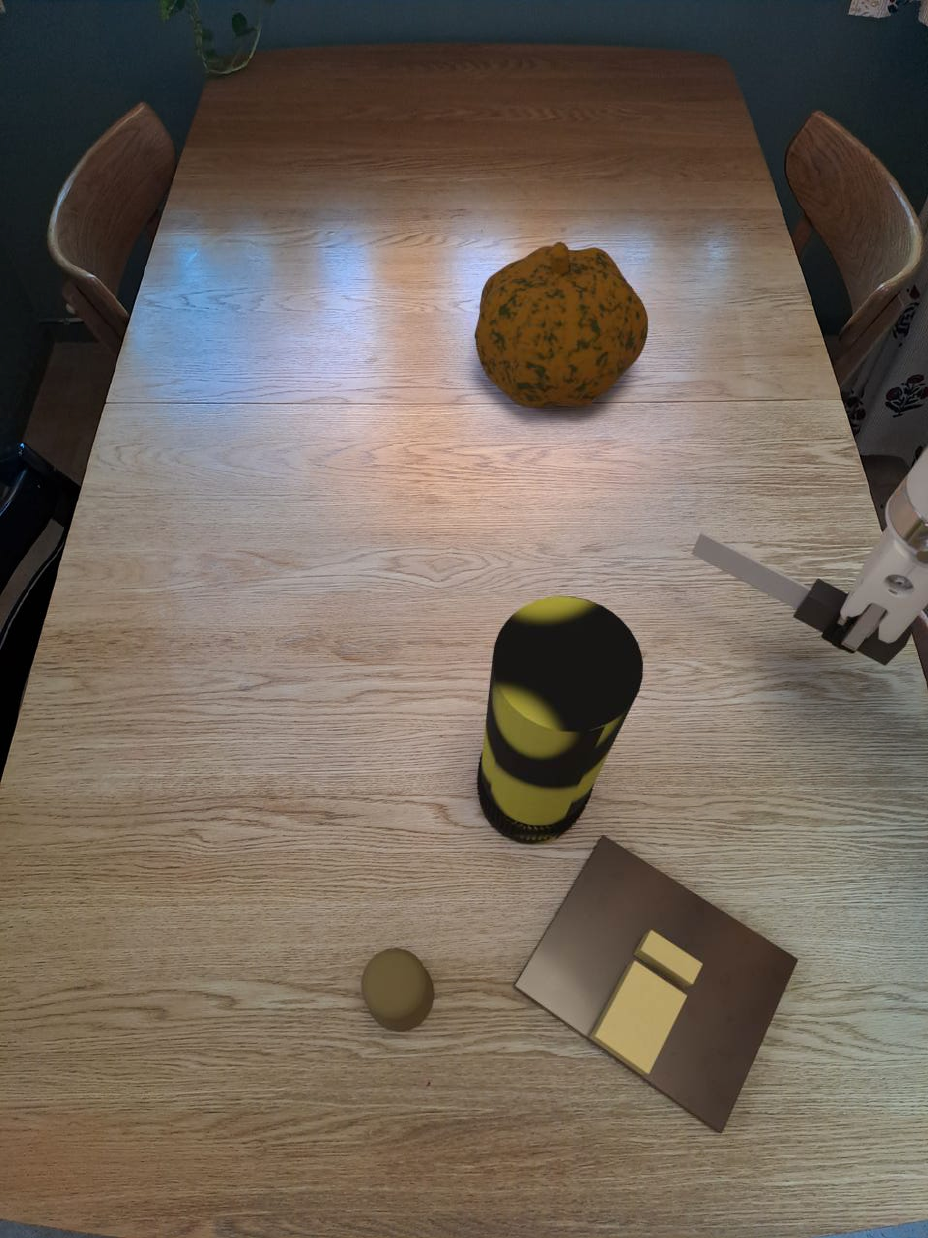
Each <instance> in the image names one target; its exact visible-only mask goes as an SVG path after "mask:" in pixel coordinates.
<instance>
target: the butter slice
mask: <svg viewBox="0 0 928 1238" xmlns="http://www.w3.org/2000/svg"><path fill="white" fill-rule="evenodd" d="M634 955H635V956H637V957H638V958H640V959H641V960H643V961H644V962H645V963H647V964H648V965H650V966H651V967H653V968H654V969H656V970H657V971H659V972H660V973H662V974H663V975H665V976H666V977H668V978H669V979H671V980H672V981H674V982H675V983H677V984H678V985H680V986H681V987H683V988H685V987H687V986H690V985H693V983H694V981H695V979H696V977H697V975H698V973H699V971H700V969H701V967H702V965H703V964H702V963H701V962H700V961H698V960H697V959H695V958H694V957H692V956H691V955H689V954H688V953H686V952H684V951H683V950H681V949H680V948H678V947H677V946H675V945H674V944H672V943H671V942H669V941H668V940H666V939H665V938H663V937H662V936H660V935H659V934H657V933H656V932H654V931H653V930H650V931H649V932H648V933H646V934H645V935H644V936H643V937H642V939H641V941H640V943H639V945H638V947H637V949H636V951H635V953H634Z"/></svg>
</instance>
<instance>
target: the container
mask: <svg viewBox="0 0 928 1238" xmlns="http://www.w3.org/2000/svg"><path fill="white" fill-rule="evenodd" d="M643 678H644V660H643V655H642V651H641V647H640V645H639V643H638V641H637V638H636V637H635V635H634V634H633V632H632V630H631V629H630V628H629V627H628V625H627V624H626V623H625V622H624V621H623V619H621V618H620V617H619V616H618V615H617V614H615V612H614V611H612V610H610V609H608V608H607V607H605V606H604V605H601V604H599V603H597V602H595V601H592V600H589V599H585V598H581V597H576V596H569V595H568V596H567V595H559V596H558V595H557V596H549V597H544V598H541V599H537V600H534V601H532V602H530V603H528V604H526V605H524V606H522V607H521V608H519V609H518V610H517V611H515V612H514V613H513V614H512V615H511V616H510V617H508V619H507V620H506V621H505V622H504V624H503V625H502V627H501V628H500V630H499V631H498V634H497V637H496V640H495V642H494V644H493V652H492V660H491V669H490V678H489V688H488V697H487V705H486V707H487V708H486V714H485V715H486V717H485V726H484V735H483V745H482V750H481V751H480V756H479V759H478V760H479V761H478V765H477V775H476V790H477V795H478V801H479V805H480V807H481V809H482V812H483V814H484V817H485V818H486V820H487V821H488V823H489V824H490V826H491V827H492V828H494V829H495V830H496V831H497V832H498V833H499V834H501V836H503V837H505V838H508V839H509V840H511V841H514V842H516V843H519V844H526V845H538V844H546V843H549V842H550V841H553V840H556V839H558V838H560V837H561V836H562V835H563V834H565V833H566V832H568V831H569V830H570V828H572V826H573V825H574V824H576V823H577V820H580V818H581V816H582V814H583V813H584V811H585V809H586V807H587V805H588V802H589V800H590V799H591V797H592V793H593V791H594V786H595V783H596V780H597V778H598V776H599V774H600V772H601V770H602V768H603V766H604V764H605V762H606V761H607V757H608V755H609V753H610V752H611V749H612V748H613V746H614V743H615V742H616V740H617V737H618V735H619V733H620V731H621V729H622V727H623V725H624V723H625V721H626V719H627V717H628V715H629V713H630V711H631V708H632V707H633V705H634V703H635V700H636V699H637V696H638V694H639V692H640V688H641V685H642V682H643Z"/></svg>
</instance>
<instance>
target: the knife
mask: <svg viewBox="0 0 928 1238" xmlns="http://www.w3.org/2000/svg"><path fill="white" fill-rule="evenodd" d="M690 554H691V555H692V556H694V557H697V558H698V559H700V560H702V561H704V562H705V563H708V564H710V565H712V566H713V567H715V568H717V569H718V570H721V571H723V572H725V573H726V574H728V575H730V576H732V577H734V578H735V579H738V580H739V581H741V582H744V583H745V584H748V585H749V586H751V587H752V588H755V589H756V590H758V591H760V592H762V593H764V594H766V595H768V596H770V597H772V598H773V599H775V600H778V601H779V602H781V603H783V604H785V605H787V606H788V607H791V608H793V609H795V612H794V613H793V615H792V618H794V619H796V620H797V621H800V622H802V623H803V624H805V625H807V626H809V627H811V628H813V629H814V630H817V631H818V632H821V634H822V633H823V631H824V630H825V629H826V628H827V626H828V625H829V624H830V623H831V621H832V620H833V619H834V618H835V617H836V615H837V614H838V613H839V612H840V611H841V609H842V607H843V605H844V603H845V601H846V599H847V597H848V595H849V594H848V592H846V591H844V590H842V589H840V588H837V587H836V586H834V585H832V584H830V583H828V582H826V581H824V580H822V579H820V578H816V579H815V581H814V583H813V584H812V585H811V586H808V585H807V584H804V583H802V582H800V581H798V580H797V579H795V578H793V577H791V576H789V575H787V574H785V573H783V572H781V571H779V570H778V569H776V568H774V567H772V566H769V565H768V564H766V563H764V562H762V561H761V560H758V559H756V558H754V557H752V556H750V555H748V554H746V553H745V552H744V551H741V550H739V549H737V548H735V547H734V546H731V545H729V544H727V543H726V542H723V541H722V540H720V539H717V538H716V537H715V536H712V535H710V534H709V533H707V532H704V531H703V530H702V531H700V533H699V535H698V537H697V540H696V541H695V544H694V546H693V548H692V550H691V553H690ZM857 617H860V615H857ZM914 630H915V628H914V627H913V626H911V625H909V626H908V627H907V628H906V630H905V631H904V632H903V633H902V634H901V635H900V637H899V638H898V639H897V640H896V641H894V642H892V643H886V642H884V641H882V640H880V639H879V626H878V628H877V629H876V630H875V631H874V632H873V633H872V635H871V636H870V637H869V638H868V639H867V640H866V641H865V642H864V643H863V645H862V646H861V647H860V648H859V649H858V650H857V651H856V652H858V653H860V654H861V655H864V656H866V658H869V659H871V660H873V661H875V662H876V663H878V664H880V665H882V666H885V667H886V666H887V665H888V664H889V663H890V662H891V661H892V660H893V659H894V658H895V657H897V655H898V654H899V653H900V652H901V651H902V650H904V648H905V647H906V646H907V645H908V642H909V640H910V638H911V637H912V634H913V632H914Z"/></svg>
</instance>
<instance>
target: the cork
mask: <svg viewBox="0 0 928 1238" xmlns="http://www.w3.org/2000/svg"><path fill="white" fill-rule="evenodd" d="M360 983H361V984H360V985H361V995H362V997H363V1000H364V1002H365V1005H366V1006H367V1008H368V1010H369V1013H370V1015H371V1017H372V1018H373V1019H374V1021H375V1022H376V1023H377V1024H378V1025H379V1026H381V1028H384V1029H386V1030H387V1031H391V1032H396V1033H401V1032H408V1031H411V1030H413V1029H415V1028H417V1027H419V1026H420V1025H421V1024H422V1023H423V1022H424V1021H425V1020H426V1019H427V1018H428V1017H429V1014H430V1013H431V1010H432V1008H433V1006H434V1000H435V985H434V982H433V980H432V976H431V975H430V973H429V971H428V970H427V969H426V968H425V967H424V965H423V962H422V961H421V960H420V959H419V957H418V956H417V955H416V954H414V953H412V952H411V951H409V950H407V949H404V948H399V947H393V948H386V949H384V950H382V951H380V952H378V953H376V954H375V955H374V956H373V957H372V958H371V959H370V960H368V963H367V964H366V966H365V968H364V970H363V972H362V977H361V981H360Z"/></svg>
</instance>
